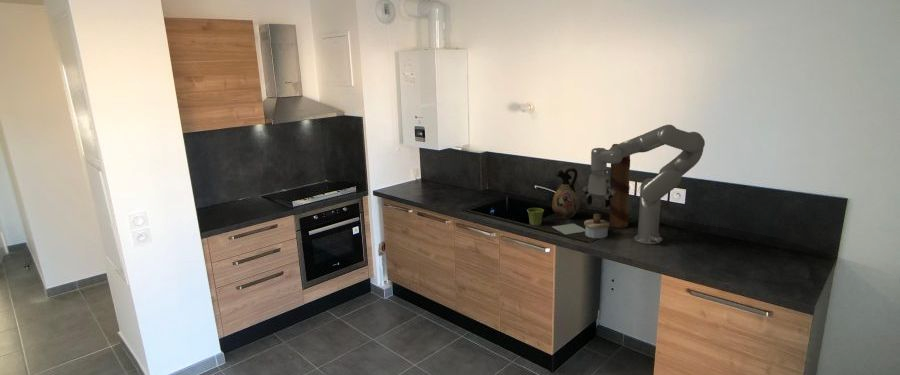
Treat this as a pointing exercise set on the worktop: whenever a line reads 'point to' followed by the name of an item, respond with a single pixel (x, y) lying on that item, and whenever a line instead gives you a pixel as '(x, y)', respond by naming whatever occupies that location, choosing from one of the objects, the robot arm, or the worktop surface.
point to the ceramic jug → (566, 196)
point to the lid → (596, 222)
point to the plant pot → (535, 215)
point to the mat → (569, 228)
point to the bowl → (596, 232)
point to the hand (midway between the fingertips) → (598, 205)
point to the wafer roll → (619, 193)
